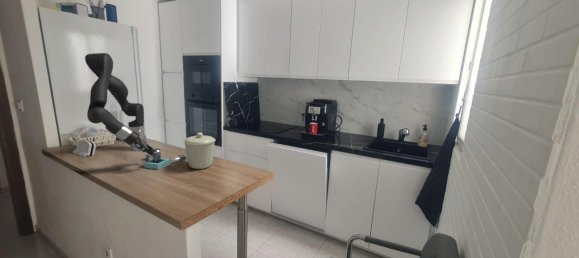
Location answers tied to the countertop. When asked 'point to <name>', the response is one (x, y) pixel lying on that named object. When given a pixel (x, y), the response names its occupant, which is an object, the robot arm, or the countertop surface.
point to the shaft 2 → (178, 159)
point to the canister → (199, 150)
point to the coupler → (156, 156)
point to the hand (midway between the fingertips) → (152, 152)
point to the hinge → (85, 148)
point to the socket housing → (156, 164)
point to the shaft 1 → (148, 157)
